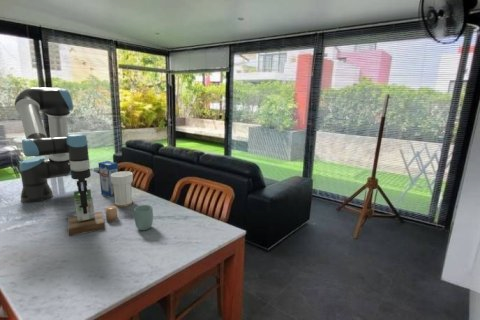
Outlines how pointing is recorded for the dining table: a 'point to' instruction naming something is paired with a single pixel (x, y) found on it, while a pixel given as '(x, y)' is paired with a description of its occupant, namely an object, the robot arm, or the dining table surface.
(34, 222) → the dining table surface
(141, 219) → the cup
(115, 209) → the wooden peg
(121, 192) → the cup
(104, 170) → the milk carton
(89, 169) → the robot arm
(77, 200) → the ink box
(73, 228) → the podium
